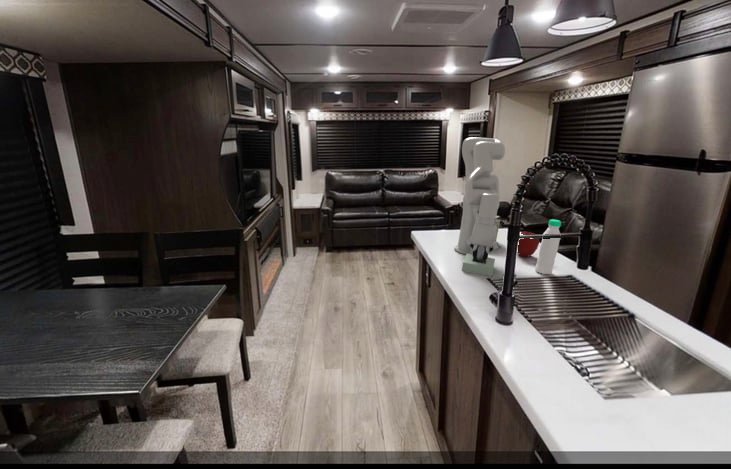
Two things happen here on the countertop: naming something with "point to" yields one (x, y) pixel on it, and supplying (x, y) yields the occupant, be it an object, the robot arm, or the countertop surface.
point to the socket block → (478, 265)
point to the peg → (480, 253)
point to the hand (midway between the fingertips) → (479, 258)
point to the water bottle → (548, 249)
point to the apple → (527, 245)
